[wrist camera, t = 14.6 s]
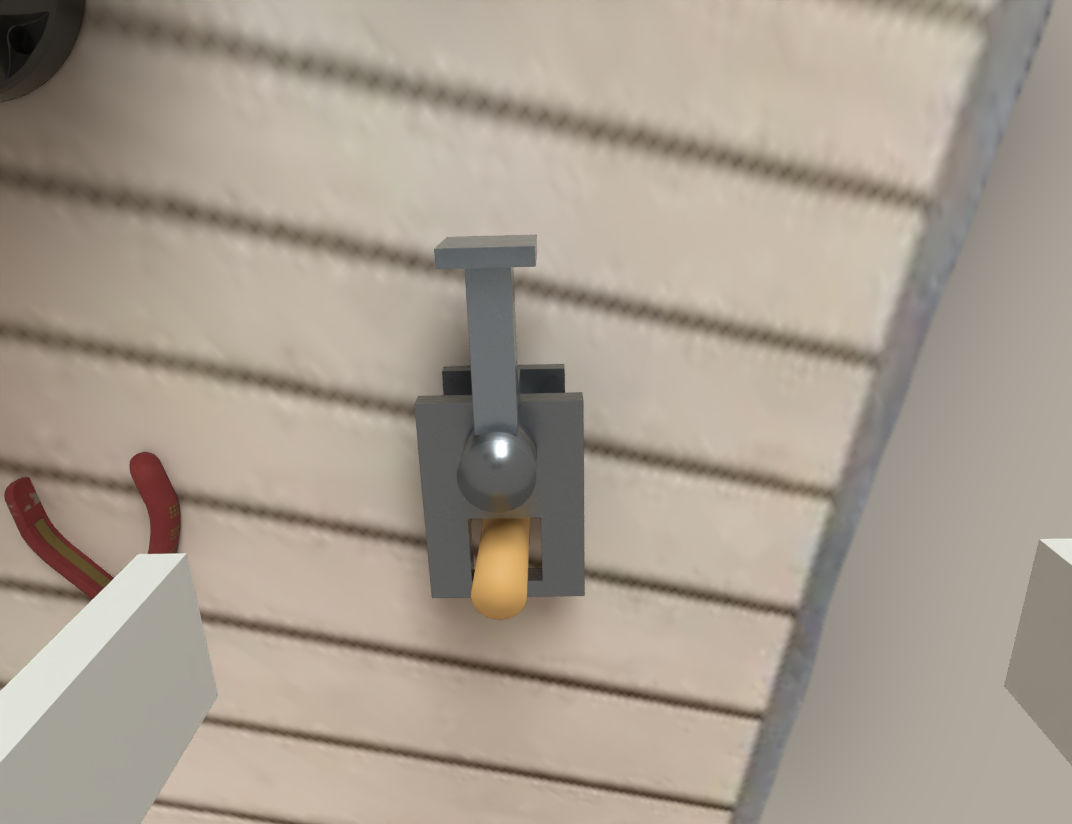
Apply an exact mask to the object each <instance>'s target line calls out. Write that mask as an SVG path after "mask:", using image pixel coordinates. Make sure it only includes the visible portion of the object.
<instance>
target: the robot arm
mask: <svg viewBox="0 0 1072 824" xmlns="http://www.w3.org/2000/svg"><path fill="white" fill-rule="evenodd" d="M83 10H84V0H0V102H4V101H8V100H12V99H15V98H18V97H21V96H23V95H25V94H28V93H30V92H31V91H33V90H35V89H37V88H38V87H40V86H41V85H42V84H44V83H45V82H46V81H47V80H48V79H50V78H51V77H52V76H53V75H54V74H55V73H56V72H57V70H58V69H59V68H60V67H61V65H62V64H63V63H64V61H65V60H66V58H67V57H68V55H69V53H70V51H71V49H72V47H73V45H74V43H75V40H76V38H77V35H78V32H79V29H80V25H81V21H82V16H83ZM1005 688H1006V689H1007V690H1008V691H1009V692H1010V693H1011V695H1012V696H1013V697H1014V698H1015V699H1016V700H1017V702H1018V703H1019V704H1020V705H1021V706H1022V708H1023V709H1024V710H1025V711H1026V712H1027V714H1028V715H1029V716H1030V717H1031V718H1032V719H1033V721H1034V722H1035V723H1036V724H1037V725H1038V727H1039V728H1040V729H1041V730H1042V731H1043V732H1044V734H1045V735H1046V736H1047V737H1048V738H1049V740H1050V741H1051V742H1052V743H1053V744H1054V745H1055V747H1056V748H1057V749H1058V750H1059V751H1060V752H1061V754H1062V755H1063V756H1064V757H1065V758H1066V759H1067V761H1068V762H1069V763H1070V764H1071V765H1072V539H1039V542H1038V546H1037V551H1036V555H1035V559H1034V563H1033V567H1032V571H1031V576H1030V580H1029V584H1028V588H1027V592H1026V597H1025V601H1024V605H1023V609H1022V613H1021V618H1020V622H1019V626H1018V630H1017V635H1016V639H1015V643H1014V647H1013V651H1012V655H1011V660H1010V664H1009V668H1008V672H1007V676H1006V681H1005ZM217 696H218V693H217V688H216V684H215V679H214V675H213V670H212V666H211V661H210V657H209V652H208V648H207V643H206V639H205V634H204V630H203V625H202V621H201V616H200V612H199V607H198V603H197V598H196V594H195V589H194V584H193V580H192V575H191V571H190V566H189V562H188V557H187V553H180V554H138V555H137V556H136V557H135V558H134V559H133V560H132V561H131V562H130V563H129V564H128V565H127V566H126V567H125V568H124V569H123V570H122V571H121V572H120V573H119V574H118V575H117V576H116V577H115V578H114V579H113V580H112V581H111V582H110V583H109V584H108V585H107V586H106V587H105V588H104V589H103V590H102V591H101V592H100V593H99V594H98V595H97V596H96V597H95V598H94V599H93V600H92V601H91V602H90V603H89V604H88V605H87V606H86V607H85V608H84V609H83V610H82V611H81V612H80V613H79V614H78V615H77V616H76V617H75V618H74V619H73V620H72V621H70V622H69V623H68V624H67V625H66V626H65V627H64V628H63V629H62V630H61V631H60V632H59V633H58V634H57V635H56V636H55V637H54V638H53V639H52V640H51V641H50V642H49V643H48V644H47V645H46V646H45V647H44V648H43V649H42V650H41V651H40V652H39V653H38V654H37V655H36V656H35V657H34V658H33V659H32V660H31V661H30V662H29V663H28V664H27V665H26V666H25V667H24V668H23V669H22V670H21V671H20V672H19V673H18V674H17V675H16V676H15V677H14V678H13V679H12V680H11V681H10V682H9V683H8V684H7V685H6V686H5V687H4V688H3V689H2V690H1V691H0V824H141V822H142V821H143V819H144V817H145V816H146V814H147V812H148V811H149V809H150V807H151V806H152V804H153V802H154V801H155V799H156V797H157V796H158V794H159V792H160V791H161V789H162V787H163V786H164V784H165V782H166V781H167V779H168V778H169V776H170V774H171V773H172V771H173V769H174V768H175V766H176V764H177V763H178V761H179V759H180V758H181V756H182V754H183V753H184V751H185V749H186V748H187V746H188V744H189V743H190V741H191V739H192V738H193V736H194V734H195V733H196V731H197V729H198V728H199V726H200V724H201V723H202V721H203V719H204V718H205V716H206V714H207V713H208V711H209V709H210V708H211V706H212V705H213V703H214V701H215V700H216V698H217Z"/></svg>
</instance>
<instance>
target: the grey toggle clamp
mask: <svg viewBox="0 0 1072 824" xmlns="http://www.w3.org/2000/svg"><path fill="white" fill-rule="evenodd" d="M434 254H435V267H436V269H459V268H465V282H466V298H467V314H468V331H469V347H470V363H471V366H460V367H444V368H443V370H442V376H443V390H444V395H440V396H418V398H417V400H416V402H415V404H414V406H415V417H416V428H417V439H418V450H419V461H420V472H421V483H422V494H423V505H424V516H425V527H426V538H427V549H428V560H429V571H430V582H431V593H432V598H471V591H472V585H473V579H474V573H475V569H474V559H473V544H472V529H471V519H489V518H541V538H542V568H528V581H527V597H546V596H585V582H584V424H583V394H582V392H576V393H565V373H564V364H547V365H517V347H516V321H515V295H514V269H513V267H535V266H536V259H537V235H505V236H468V237H447V238H446V239H445V240H443V241H442V242H441V243H440V244H439V245H438V246H437V247H436V248H434Z"/></svg>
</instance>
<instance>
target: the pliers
mask: <svg viewBox="0 0 1072 824" xmlns="http://www.w3.org/2000/svg"><path fill="white" fill-rule="evenodd" d="M130 473H131V476H132V478H133V480H134V482H135V484H136V486H137V488H138V490H139V493H140V495H141V497H142V499H143V501H144V503H145V504H146V507H147V510H148V513H149V517H150V525H151V535H150V544H149V551H148V554H176V550H177V544H178V537H179V531H180V506H179V502H178V498H177V495H176V493H175V491H174V489H173V487H172V485H171V483H170V480H169V478H168V476H167V474H166V472H165V470H164V468H163V466H162V464H161V462H160V460H159V459H158V458H157V457H156V456H155V455H154V454H152V453H149V452H143V453H138V454H136V455H135V456H134V457H132V459H131V461H130ZM4 495H5V501H6V503H7V506H8V508H9V510H10V512H11V514H12V516H13V519H14V521H15V523H16V525H17V527H18V529H19V532H20V534H21V536H22V537H23V539H24V540H25V542H26V543H27V544H28V546H29V547H30V548H31V549H32V550H33V551H34V552H35V553H36V554H37V555H38V556H39V557H40V558H41V559H42V560H44V561H45V562H46V563H47V564H48V565H49V566H51V567H52V568H53V569H55V570H56V571H57V572H58V573H60V574H61V575H62V576H63V577H65V578H66V579H67V580H69V581H70V582H71V583H72V584H74V585H75V586H76V587H77V588H79V589H80V590H81V591H83V592H84V593H85V594H86V595H88V596H89V597H90V598H91V599H94V598H95V597H96V596H97V595H98V594H99V593H100V592H101V591H102V590H103V589H104V588H105V587H106V586H107V585H108V584H109V583H110V582H111V581H112V580H113V579H114V578H113V577H112V576H111V575H110V574H108V573H107V572H106V571H105V570H103V569H102V568H101V567H100V566H98V565H97V564H96V563H95V562H93V561H92V560H91V559H90V558H88V557H87V556H86V555H85V554H83V553H82V552H81V551H80V550H78V549H77V548H76V547H75V546H73V545H72V544H71V543H70V542H69V541H67V540H66V539H65V538H64V537H63V536H62V535H61V534H60V533H59V532H58V530H57V529H56V528H55V527H54V525H53V524H52V523H51V521H50V520H49V518H48V516H47V515H46V512H45V510H44V508H43V506H42V504H41V502H40V500H39V497H38V495H37V493H36V491H35V489H34V487H33V485H32V483H31V481H30V478H29V477H25V478H21V479H18V480H16V481H14V482H12V483H11V484H10V485H9V486H8V487H7V488H6V491H5V494H4Z"/></svg>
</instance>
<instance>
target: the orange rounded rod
mask: <svg viewBox="0 0 1072 824" xmlns="http://www.w3.org/2000/svg"><path fill="white" fill-rule="evenodd" d="M529 536H530V518H489V519H484V520H483V526H482V532H481V538H480V544H479V550H478V556H477V562H476V568H475V573H474V579H473V585H472V591H471V599H472V603H473V605H474V606H475V608H476V609H477V610H478V611H479V612H480V613H481V614H483V615H484V616H486V617H489V618H492V619H508V618H511V617H513V616H515V615H517V614H518V613H519V612H520V611H521V610H522V609H523V608H524V606H525V604H526V600H527V581H528V559H529Z"/></svg>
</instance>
